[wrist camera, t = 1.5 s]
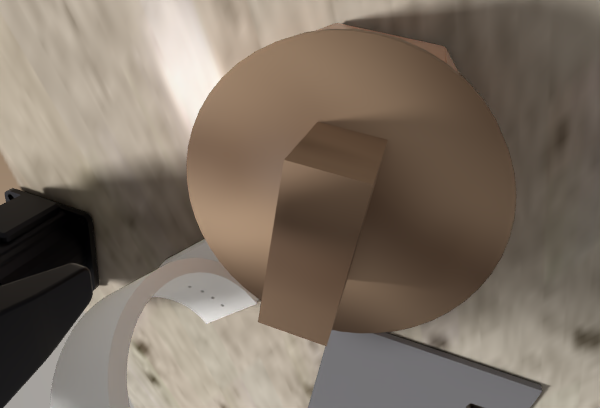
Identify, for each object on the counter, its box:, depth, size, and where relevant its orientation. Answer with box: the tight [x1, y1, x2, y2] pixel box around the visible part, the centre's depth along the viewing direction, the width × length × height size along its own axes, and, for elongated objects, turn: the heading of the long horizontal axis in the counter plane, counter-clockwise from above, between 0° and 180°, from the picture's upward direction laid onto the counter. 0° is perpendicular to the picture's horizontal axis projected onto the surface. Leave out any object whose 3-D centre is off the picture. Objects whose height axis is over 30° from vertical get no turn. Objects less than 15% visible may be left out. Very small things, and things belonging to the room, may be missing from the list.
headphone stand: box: [50, 239, 259, 408], centre depth 22 cm, size 5×6×12 cm
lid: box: [187, 29, 516, 346], centre depth 14 cm, size 12×12×4 cm
